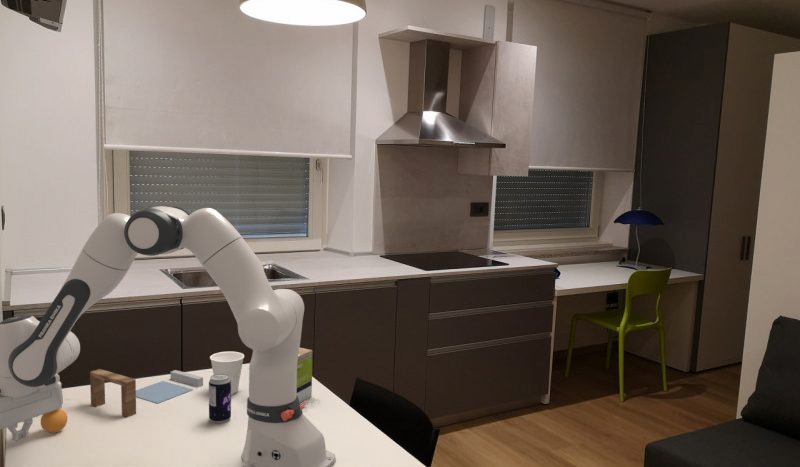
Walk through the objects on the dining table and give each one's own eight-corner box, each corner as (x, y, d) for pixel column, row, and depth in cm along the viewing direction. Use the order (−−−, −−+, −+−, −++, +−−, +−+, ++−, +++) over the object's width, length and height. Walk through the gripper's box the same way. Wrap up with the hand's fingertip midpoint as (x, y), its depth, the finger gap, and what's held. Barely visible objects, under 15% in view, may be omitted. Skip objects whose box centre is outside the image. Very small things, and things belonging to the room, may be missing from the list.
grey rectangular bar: (203, 385, 200) (203, 377, 199) (198, 387, 198) (198, 379, 198) (175, 377, 205) (175, 369, 205) (170, 379, 204) (170, 371, 203)
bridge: (136, 413, 177) (135, 379, 176) (126, 417, 174) (126, 382, 173) (100, 402, 184) (99, 368, 183) (90, 405, 182) (90, 371, 180)
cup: (207, 388, 197) (207, 353, 196) (240, 384, 201) (240, 349, 200) (212, 400, 188) (212, 363, 187) (247, 395, 192) (247, 359, 191)
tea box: (250, 397, 191) (251, 348, 189) (272, 387, 200) (273, 340, 198) (292, 408, 184) (292, 357, 182) (312, 397, 193) (313, 348, 191)
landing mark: (192, 389, 195) (192, 389, 195) (157, 403, 184) (157, 403, 184) (163, 381, 202) (162, 380, 202) (127, 394, 191) (127, 393, 190)
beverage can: (224, 425, 171) (224, 381, 170) (205, 422, 172) (204, 379, 171) (234, 417, 177) (234, 374, 175) (215, 414, 178) (215, 372, 176)
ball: (72, 430, 166) (72, 407, 165) (50, 438, 160) (49, 415, 160) (58, 424, 168) (57, 402, 168) (35, 432, 163) (34, 409, 163)
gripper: (-21, 399, 144) (-18, 458, 146) (65, 373, 162) (67, 426, 164) (-36, 393, 147) (-33, 451, 149) (50, 369, 165) (52, 421, 167)
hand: (20, 438), depth 157 cm, fingers closed
